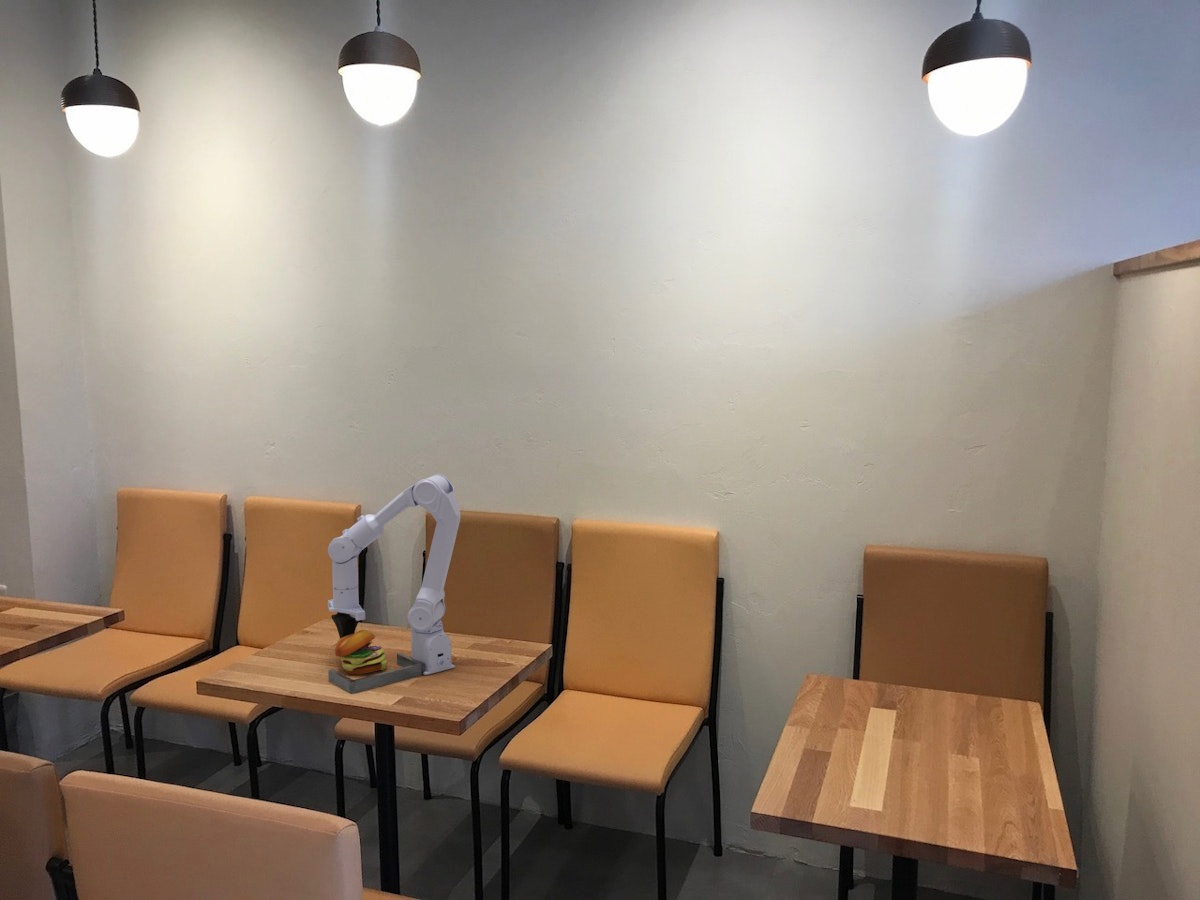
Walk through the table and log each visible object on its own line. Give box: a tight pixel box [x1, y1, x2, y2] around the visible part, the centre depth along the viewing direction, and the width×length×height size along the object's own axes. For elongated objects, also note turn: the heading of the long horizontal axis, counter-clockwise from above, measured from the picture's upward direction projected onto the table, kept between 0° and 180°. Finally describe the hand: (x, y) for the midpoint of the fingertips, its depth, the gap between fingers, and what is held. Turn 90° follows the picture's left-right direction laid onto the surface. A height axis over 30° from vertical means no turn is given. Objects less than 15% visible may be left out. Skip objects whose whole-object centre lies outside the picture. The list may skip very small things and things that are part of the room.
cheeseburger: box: [334, 629, 388, 676], centre depth 213 cm, size 10×11×10 cm
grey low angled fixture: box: [327, 652, 425, 695], centre depth 207 cm, size 10×18×2 cm, turn 133°
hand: (346, 644), depth 217 cm, fingers closed
